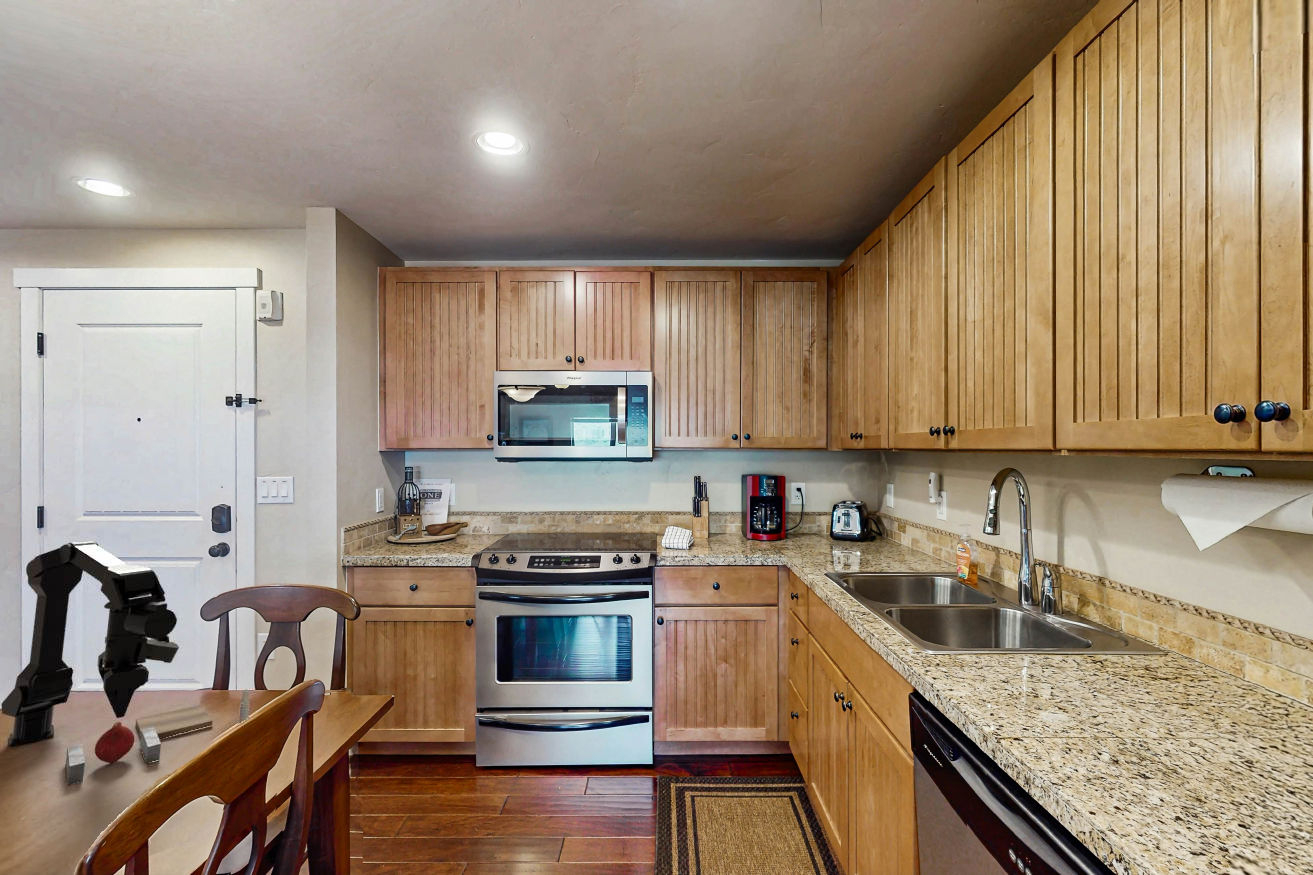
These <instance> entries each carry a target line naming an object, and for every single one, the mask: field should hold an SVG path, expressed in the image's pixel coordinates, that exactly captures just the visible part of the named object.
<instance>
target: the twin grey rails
mask: <svg viewBox="0 0 1313 875" xmlns="http://www.w3.org/2000/svg"><path fill="white" fill-rule="evenodd" d="M139 742H140V743H139V748H140V747H141V749H142V751H141V753H142V752H143V754H142V756H143V755H144V757H143V759H144V758H145V760H144V762H145V761H146V763H149V762H152V761H156V760H159V761H160V758H161V757H160V756H161V747H162V743H161V740H159V738H158V735H157V733H156V731H155V729H154V727H152V728H148V729H144V730H141V739H140V741H139ZM141 749H140V750H141ZM146 763H145V764H146ZM85 764H86V761H85V755H84V750H83V744H82V743H79V744H74V745H70V746H67V750H66V758H65V771H66V772H65V773H66V782H67V783H68V784H67V786H70V784H72V785H75V784H78V783H77V782H79V783H81V781H84V772H85V766H86V765H85ZM74 783H75V784H74Z"/></svg>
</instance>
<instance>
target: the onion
mask: <svg viewBox="0 0 1313 875" xmlns="http://www.w3.org/2000/svg"><path fill="white" fill-rule="evenodd" d="M122 724H123V722H121V721H117V722H115V723H114V724H113V725H112V727H111V728H109V729H108V730H106V731H105V732H104V733H103V734H102V735H101V736H100V737H99V738H98V739H97V741H96V743H95V745H94V746H95V747H94V754H95V756H96V757H97V759H98V760H100V761H101V762H104V763H108V764H114V763H116V762H119V760H121V759H122V758H124V757H125V755H127V754H128V753H130V751H131V749H132V748H133V746H134V744H135V734H134V733H133V731H132V730H131V729H130V728H129V727H127V726H123V725H122Z"/></svg>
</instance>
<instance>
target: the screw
mask: <svg viewBox="0 0 1313 875" xmlns="http://www.w3.org/2000/svg"><path fill="white" fill-rule="evenodd" d="M241 694H242V695H241V700H240V701H241V702H239V704H240V705H239V710H238V713H239V714H238V717H237V718H238V720H237V721H238V723H237V725H239V723H241V722H242V721H244V720H246V719H247V718H248V719H249V718H250V709H251V708H250V707H251V706H250V704H251V702H250V701H251V700H250V691H249V690H248V689H244V690H243V691H242V693H241Z"/></svg>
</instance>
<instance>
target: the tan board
mask: <svg viewBox="0 0 1313 875" xmlns="http://www.w3.org/2000/svg"><path fill="white" fill-rule="evenodd" d="M135 725H136V726H135V729H136V728H137V729H136V731H137V730H138V731H137V734H138V733H139V734H138V736H140V737H139V739H140V738H141V730H144V729H148V728H152V727H154V729H155V731H156V733H157V735H158V738H159V739H162V740H164V739H163V738H166V737H169V736H173V735H176V734H179V733H184V732H188V731H191V730H195V729H199V728H203V727H207V726H211V725H212V726H213V719H212V718H211V716H210V715H209V713H208V712H207V709H205V707H204V705H203V704H199V705H194V706H189V707H184V708H181V709H175V710H171V711H167V712H161V713H158V714H152V715H148V716H143V717H138V718H136V719H135ZM166 739H167V738H166Z"/></svg>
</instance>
